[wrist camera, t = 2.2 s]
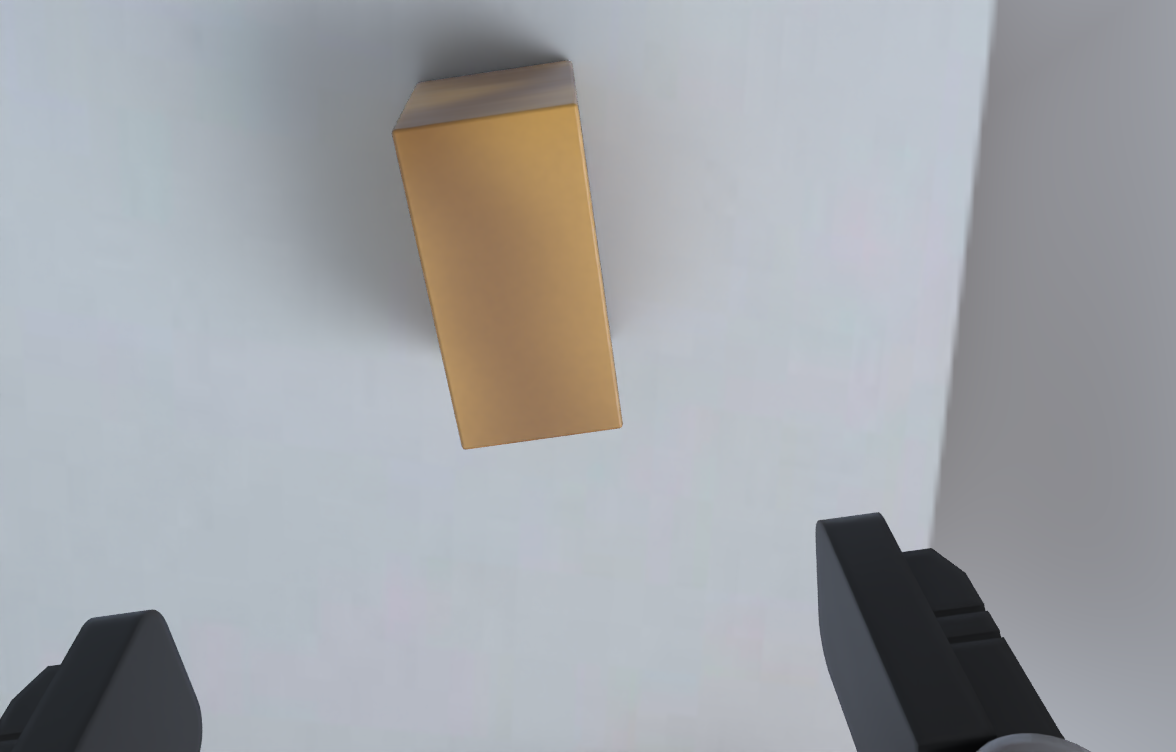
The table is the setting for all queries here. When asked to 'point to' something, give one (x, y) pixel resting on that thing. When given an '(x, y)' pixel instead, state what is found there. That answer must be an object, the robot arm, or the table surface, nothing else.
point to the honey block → (510, 252)
